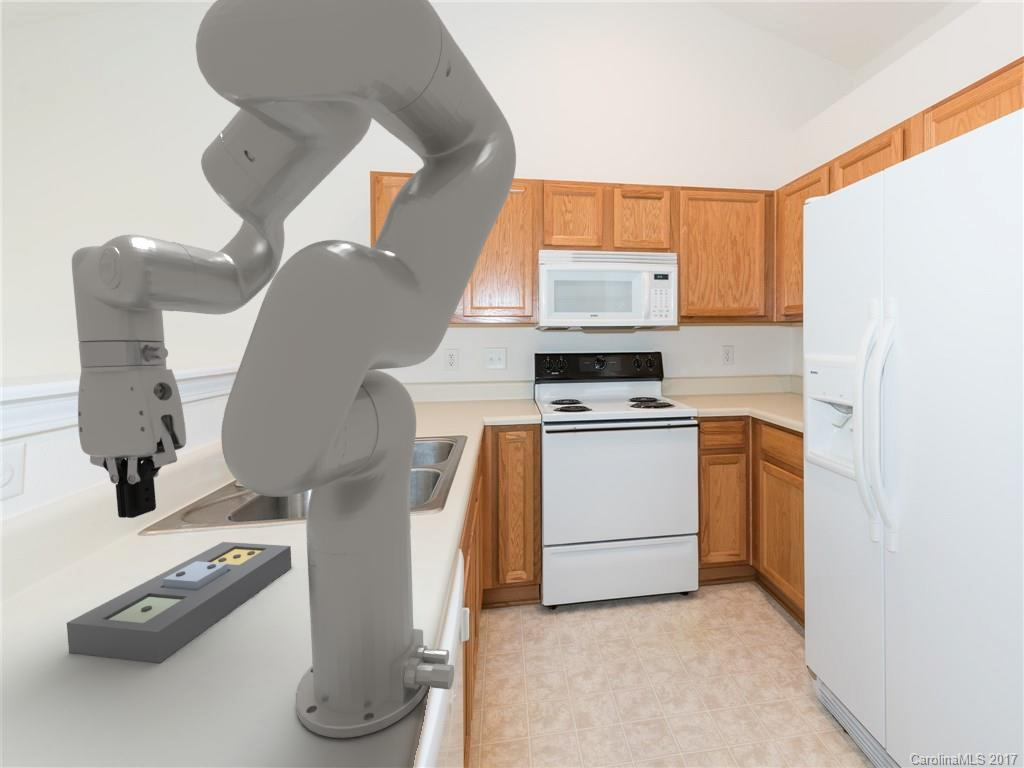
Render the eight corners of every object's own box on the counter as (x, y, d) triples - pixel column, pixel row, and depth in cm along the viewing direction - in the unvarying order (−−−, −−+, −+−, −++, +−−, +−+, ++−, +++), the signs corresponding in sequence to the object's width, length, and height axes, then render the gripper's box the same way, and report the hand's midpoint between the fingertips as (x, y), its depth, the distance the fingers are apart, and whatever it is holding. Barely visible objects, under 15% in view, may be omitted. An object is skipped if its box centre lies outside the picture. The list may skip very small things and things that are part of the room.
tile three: (264, 563, 69) (263, 549, 69) (239, 579, 64) (238, 564, 64) (235, 561, 70) (235, 547, 70) (209, 577, 65) (208, 562, 65)
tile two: (228, 577, 62) (227, 562, 62) (197, 596, 57) (196, 580, 57) (197, 575, 63) (196, 559, 63) (164, 593, 58) (162, 577, 58)
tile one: (184, 615, 56) (183, 598, 55) (145, 640, 51) (143, 622, 50) (149, 612, 56) (148, 595, 56) (108, 637, 51) (106, 618, 51)
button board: (291, 567, 70) (290, 545, 70) (160, 663, 49) (157, 632, 48) (224, 563, 72) (222, 541, 72) (69, 652, 51) (66, 622, 50)
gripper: (208, 356, 54) (219, 504, 56) (105, 360, 57) (117, 502, 58) (149, 356, 47) (162, 528, 48) (33, 361, 50) (48, 523, 51)
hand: (137, 513), depth 53 cm, fingers closed
